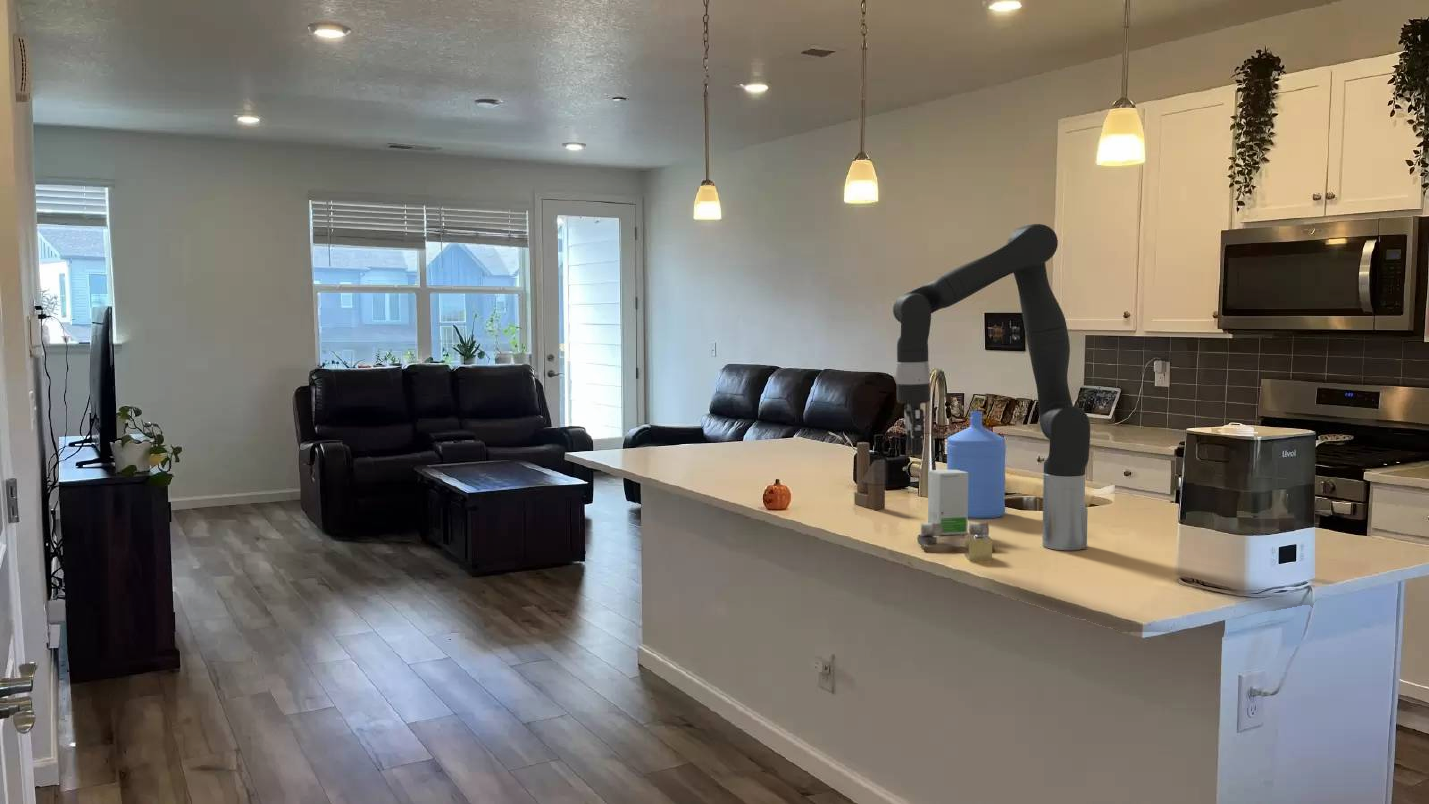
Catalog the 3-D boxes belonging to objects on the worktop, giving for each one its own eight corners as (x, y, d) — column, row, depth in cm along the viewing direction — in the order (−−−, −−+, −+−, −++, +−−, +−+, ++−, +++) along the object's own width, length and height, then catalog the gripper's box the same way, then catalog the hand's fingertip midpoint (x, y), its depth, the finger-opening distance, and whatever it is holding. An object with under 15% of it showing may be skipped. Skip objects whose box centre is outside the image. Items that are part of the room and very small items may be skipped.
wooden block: (874, 510, 288) (874, 446, 287) (853, 504, 298) (853, 442, 296) (885, 509, 290) (885, 445, 288) (864, 503, 299) (864, 441, 298)
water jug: (1008, 520, 273) (1009, 414, 270) (947, 519, 275) (948, 414, 273) (1001, 509, 288) (1002, 409, 286) (944, 508, 291) (944, 409, 288)
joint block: (987, 556, 233) (987, 532, 232) (992, 561, 228) (992, 537, 227) (964, 556, 233) (964, 533, 232) (969, 561, 228) (969, 537, 227)
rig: (984, 541, 247) (984, 518, 247) (994, 552, 236) (994, 527, 236) (915, 541, 248) (915, 518, 248) (922, 552, 237) (922, 527, 237)
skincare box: (938, 536, 254) (939, 473, 253) (926, 531, 260) (926, 469, 259) (969, 534, 256) (969, 471, 255) (956, 528, 262) (956, 468, 261)
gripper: (934, 383, 228) (935, 456, 229) (925, 379, 242) (926, 447, 243) (900, 384, 228) (901, 457, 229) (893, 380, 242) (894, 448, 244)
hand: (914, 452), depth 236 cm, fingers open, 8 cm apart
